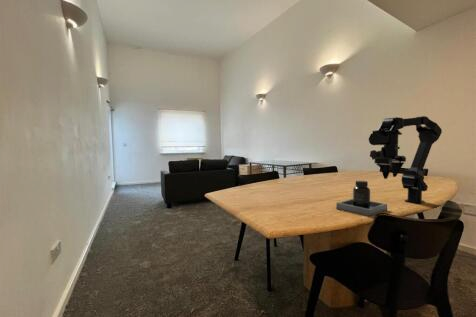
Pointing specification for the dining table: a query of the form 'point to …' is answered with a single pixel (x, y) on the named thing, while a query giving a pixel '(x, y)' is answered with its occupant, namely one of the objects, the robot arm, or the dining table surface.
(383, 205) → the slate tray
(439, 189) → the dining table surface
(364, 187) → the supplement bottle
